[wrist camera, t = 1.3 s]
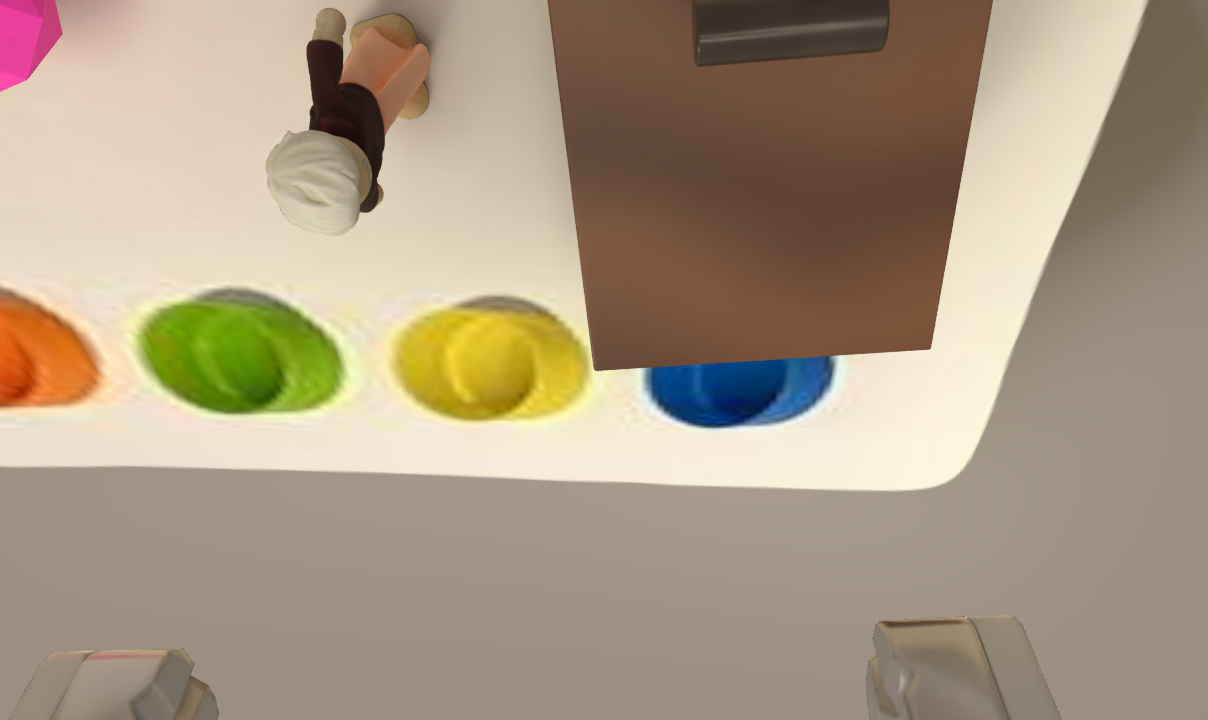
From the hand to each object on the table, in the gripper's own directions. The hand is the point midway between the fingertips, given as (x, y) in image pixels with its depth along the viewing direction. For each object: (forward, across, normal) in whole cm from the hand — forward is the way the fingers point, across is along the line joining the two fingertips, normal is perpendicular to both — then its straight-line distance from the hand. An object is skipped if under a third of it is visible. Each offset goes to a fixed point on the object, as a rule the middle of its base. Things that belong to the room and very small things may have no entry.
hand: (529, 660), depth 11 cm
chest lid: (+23, -6, +5) cm, 24 cm away
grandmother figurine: (+32, +9, +4) cm, 33 cm away
